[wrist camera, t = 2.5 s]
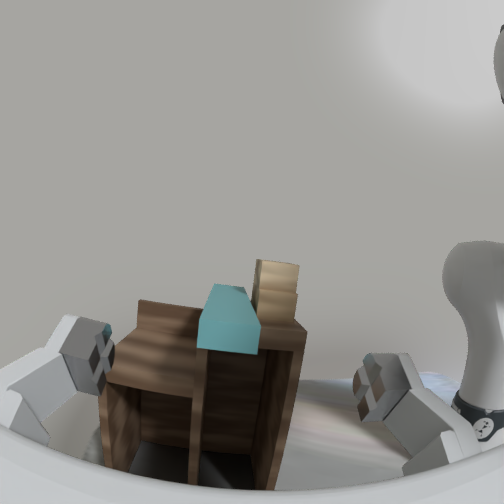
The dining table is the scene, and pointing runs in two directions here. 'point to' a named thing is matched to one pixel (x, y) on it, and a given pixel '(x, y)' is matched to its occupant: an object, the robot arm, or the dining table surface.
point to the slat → (229, 321)
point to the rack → (207, 383)
